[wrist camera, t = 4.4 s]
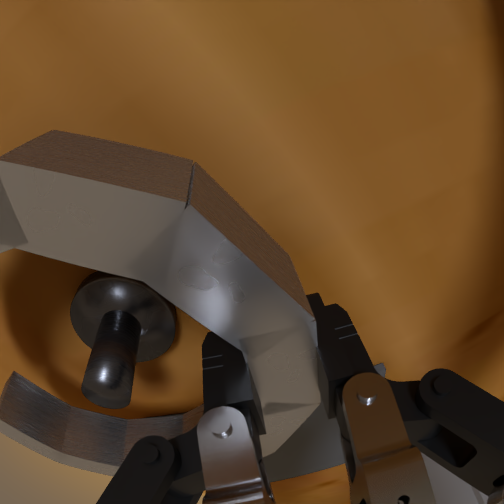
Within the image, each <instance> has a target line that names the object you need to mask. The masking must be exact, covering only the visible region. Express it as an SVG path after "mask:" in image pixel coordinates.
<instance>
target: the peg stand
mask: <svg viewBox="0 0 504 504" xmlns="http://www.w3.org/2000/svg"><path fill="white" fill-rule="evenodd" d="M70 317H71V322H72V325H73V327H74V329H75V331H76V333H77V335H78V336H79V337H80V338H81V340H82V341H83V342H84V343H85V344H86V345H87V346H89V347H90V348H91V349H92V351H91V354H90V358H89V361H88V365H87V368H86V372H85V375H84V379H83V383H82V387H81V390H82V393H83V394H84V396H85V397H86V398H87V399H88V400H90V401H91V402H93V403H94V404H97V405H99V406H102V407H105V408H110V409H119V408H124V407H126V406H127V405H129V403H130V400H131V393H132V385H133V378H134V372H135V365H136V362H144V361H149V360H152V359H155V358H157V357H159V356H160V355H162V354H163V353H164V352H166V351H167V350H168V348H169V347H170V346H171V344H172V342H173V340H174V336H175V325H176V311H175V306H174V304H173V303H171V302H170V301H169V300H167V299H166V298H165V297H163V296H162V295H161V294H159V293H158V292H157V291H155V290H154V289H153V288H151V287H150V286H149V285H147V284H146V283H145V282H143V281H140V280H136V279H131V278H127V277H123V276H119V275H115V274H111V273H106V272H102V271H97V272H95V273H93V274H91V275H90V276H88V277H87V278H86V279H85V280H84V281H83V282H82V283H81V285H80V286H79V288H78V290H77V293H76V295H75V297H74V299H73V301H72V304H71V308H70Z"/></svg>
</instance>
